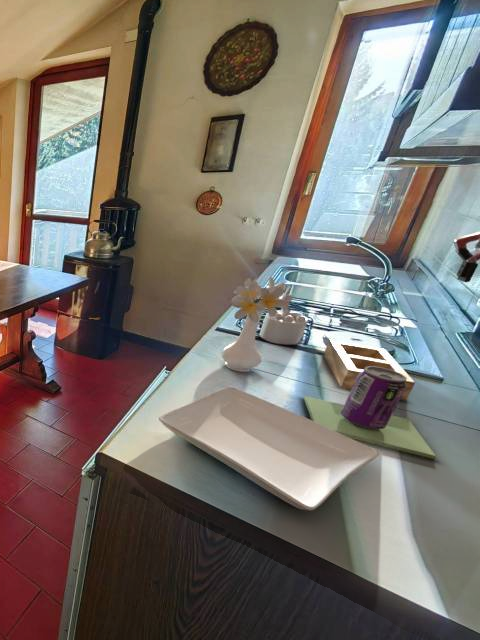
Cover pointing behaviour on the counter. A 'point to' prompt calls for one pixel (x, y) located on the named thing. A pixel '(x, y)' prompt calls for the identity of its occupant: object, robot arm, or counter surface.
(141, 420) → the counter surface
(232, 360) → the flower vase
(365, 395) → the beverage can
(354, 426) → the mat
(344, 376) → the can rack
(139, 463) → the counter surface
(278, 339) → the lumpy-topped squat cylinder
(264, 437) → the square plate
